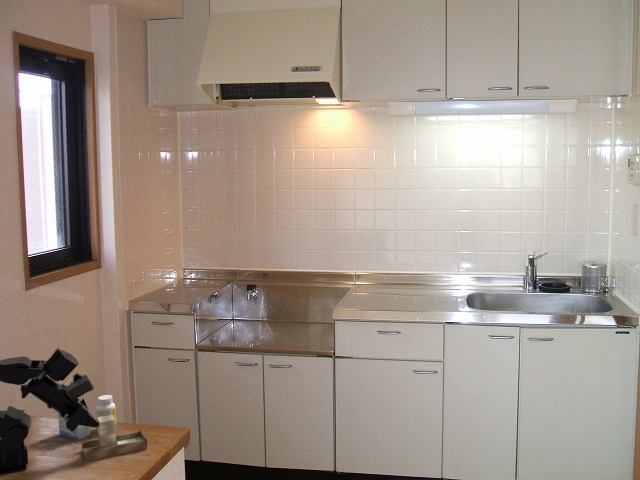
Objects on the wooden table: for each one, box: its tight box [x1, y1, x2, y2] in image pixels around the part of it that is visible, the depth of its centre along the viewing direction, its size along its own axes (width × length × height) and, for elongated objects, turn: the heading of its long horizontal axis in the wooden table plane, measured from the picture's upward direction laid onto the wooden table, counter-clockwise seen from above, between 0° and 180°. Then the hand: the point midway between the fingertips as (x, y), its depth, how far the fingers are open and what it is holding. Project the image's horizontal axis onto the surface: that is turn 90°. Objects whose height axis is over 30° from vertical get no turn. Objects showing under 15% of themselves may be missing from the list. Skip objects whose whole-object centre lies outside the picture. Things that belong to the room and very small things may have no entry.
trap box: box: [81, 428, 148, 462], centre depth 186 cm, size 16×7×3 cm, turn 117°
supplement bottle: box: [95, 394, 117, 429], centre depth 199 cm, size 5×5×10 cm
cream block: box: [96, 415, 117, 448], centre depth 185 cm, size 4×4×8 cm
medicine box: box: [57, 406, 91, 441], centre depth 196 cm, size 8×4×9 cm, turn 62°
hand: (97, 425), depth 183 cm, fingers closed, pressing on cream block
